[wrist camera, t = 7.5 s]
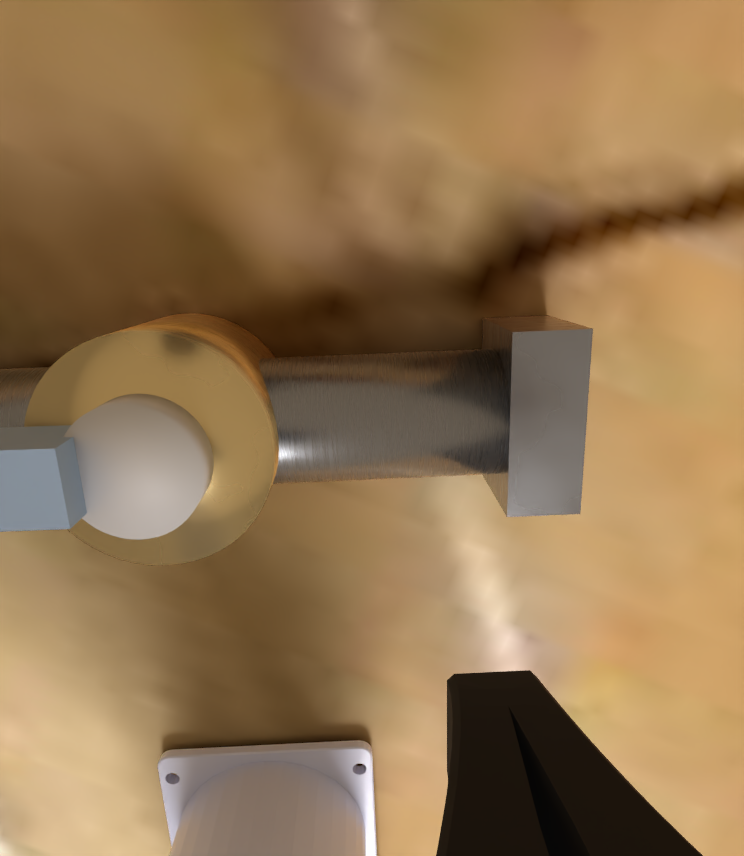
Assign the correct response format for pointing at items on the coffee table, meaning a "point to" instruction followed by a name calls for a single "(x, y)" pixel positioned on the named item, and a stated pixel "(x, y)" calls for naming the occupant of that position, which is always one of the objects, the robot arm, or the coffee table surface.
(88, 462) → the lever
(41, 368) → the valve body
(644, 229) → the coffee table surface
